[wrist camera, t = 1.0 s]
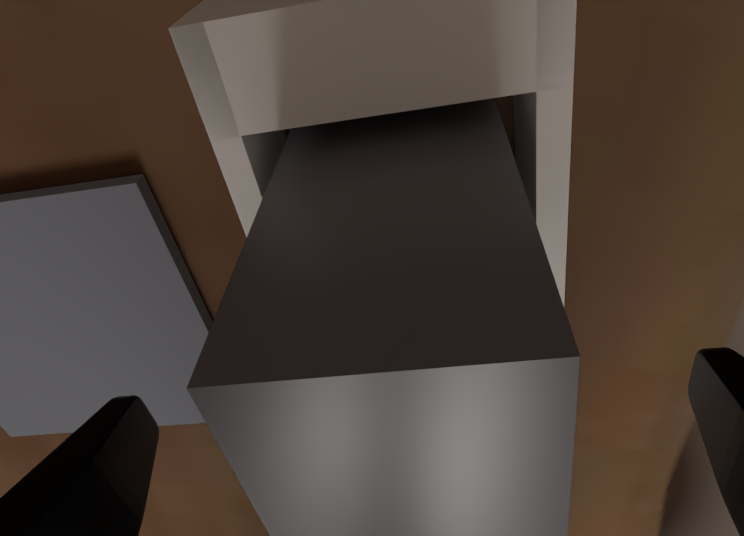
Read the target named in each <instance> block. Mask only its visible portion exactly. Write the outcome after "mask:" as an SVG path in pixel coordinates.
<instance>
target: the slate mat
mask: <svg viewBox="0 0 744 536" xmlns="http://www.w3.org/2000/svg"><path fill="white" fill-rule="evenodd" d="M212 323H213V321H212V319H211V317H210V315H209V313H208V311H207V309H206V306H205V304H204V302H203V300H202V298H201V296H200V294H199V292H198V290H197V287H196V285H195V283H194V281H193V279H192V277H191V275H190V273H189V270H188V268H187V266H186V264H185V262H184V260H183V258H182V256H181V253H180V251H179V249H178V247H177V245H176V243H175V241H174V239H173V237H172V234H171V232H170V230H169V228H168V226H167V224H166V222H165V220H164V217H163V215H162V213H161V211H160V209H159V207H158V205H157V203H156V200H155V198H154V196H153V194H152V192H151V190H150V188H149V186H148V183H147V181H146V179H145V177H144V175H143V174H140V175H133V176H126V177H119V178H112V179H105V180H98V181H91V182H84V183H77V184H70V185H63V186H56V187H49V188H42V189H35V190H28V191H21V192H14V193H7V194H0V426H1V427H2V428H3V429H4V430H5V431H6V432H7V434H8V435H9V436H10V437H14V436H28V435H42V434H56V433H70V432H75V431H76V430H77V429H78V428H79V427H80V426H81V425H82V424H84V423H85V422H86V421H87V420H88V419H89V418H90V417H91V416H93V415H94V414H95V413H96V412H97V411H98V410H99V409H100V408H101V407H103V406H104V405H105V404H106V403H107V402H108V401H109V400H111V399H112V398H114V397H118V396H130V395H136V396H138V397H140V398H141V399H142V401H143V402H144V404H145V405H146V407H147V408H148V410H149V411H150V413H151V415H152V416H153V418H154V419H155V421H156V422H157V425H158V426H167V425H181V424H195V423H206V422H205V420H204V419H203V417H202V415H201V413H200V412H199V410H198V408H197V406H196V405H195V403H194V401H193V399H192V397H191V396H190V394H189V392H188V390H187V389H186V388H187V386H188V383H189V381H190V378H191V376H192V373H193V371H194V368H195V366H196V363H197V361H198V358H199V356H200V353H201V351H202V348H203V346H204V343H205V341H206V338H207V336H208V333H209V331H210V328H211V326H212Z"/></svg>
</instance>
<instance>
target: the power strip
mask: <svg viewBox="0 0 744 536" xmlns="http://www.w3.org/2000/svg"><path fill="white" fill-rule="evenodd" d="M576 8H577V0H203V1H202V2H201V3H199V4H198V5H197V6H196V7H194V8H193V9H192V10H191V11H189V12H188V13H187V14H186V15H184V16H183V17H182V18H181V19H179V20H178V21H177V22H176V23H174V24H173V25H172V26H171V27H169V28H168V30H169V32H170V35H171V38H172V40H173V43H174V46H175V48H176V51H177V54H178V56H179V59H180V62H181V64H182V67H183V70H184V72H185V75H186V78H187V80H188V83H189V86H190V88H191V91H192V94H193V96H194V99H195V102H196V104H197V107H198V110H199V112H200V115H201V118H202V120H203V123H204V126H205V128H206V131H207V134H208V136H209V139H210V142H211V144H212V147H213V150H214V152H215V155H216V158H217V160H218V163H219V165H220V168H221V171H222V173H223V176H224V179H225V181H226V184H227V187H228V189H229V192H230V195H231V197H232V200H233V203H234V205H235V208H236V211H237V213H238V216H239V219H240V221H241V224H242V227H243V229H244V232H245V235H246V237H247V236H248V234H249V231H250V229H251V226H252V224H253V221H254V219H255V216H256V214H257V211H258V209H259V206H260V204H261V201H262V199H263V196H264V194H265V191H266V189H267V186H268V184H269V181H270V179H271V176H272V174H273V171H274V169H275V166H276V164H277V161H278V159H279V156H280V154H281V151H282V149H283V146H284V144H285V141H286V136H285V132H284V129H291V128H297V127H304V126H311V125H317V124H324V123H331V122H337V121H344V120H351V119H357V118H364V117H371V116H377V115H384V114H391V113H397V112H404V111H411V110H418V109H424V108H431V107H438V106H444V105H451V104H458V103H464V102H471V101H478V100H484V99H491V98H498V97H504V96H511V95H513V98H514V140H515V161H516V164H517V167H518V170H519V173H520V176H521V179H522V182H523V186H524V189H525V192H526V195H527V198H528V201H529V204H530V207H531V210H532V213H533V216H534V219H535V222H536V225H537V228H538V231H539V234H540V237H541V240H542V243H543V246H544V249H545V252H546V255H547V258H548V261H549V264H550V267H551V270H552V273H553V276H554V279H555V282H556V285H557V288H558V291H559V294H560V297H561V300H562V303H563V306H564V298H565V274H566V250H567V226H568V202H569V177H570V153H571V129H572V105H573V80H574V56H575V32H576Z"/></svg>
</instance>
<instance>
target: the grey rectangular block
mask: <svg viewBox="0 0 744 536" xmlns="http://www.w3.org/2000/svg"><path fill="white" fill-rule="evenodd" d="M579 367H580V354H579V351H578V348H577V345H576V342H575V339H574V336H573V333H572V330H571V327H570V324H569V321H568V318H567V315H566V312H565V309H564V306H563V303H562V300H561V297H560V294H559V291H558V288H557V285H556V282H555V279H554V276H553V273H552V270H551V267H550V264H549V261H548V258H547V255H546V252H545V249H544V246H543V243H542V240H541V237H540V234H539V231H538V228H537V225H536V222H535V219H534V216H533V213H532V210H531V207H530V204H529V201H528V198H527V195H526V192H525V189H524V186H523V182H522V179H521V176H520V173H519V170H518V167H517V164H516V161H515V158H514V155H513V152H512V149H511V146H510V143H509V140H508V137H507V134H506V131H505V128H504V125H503V122H502V119H501V116H500V113H499V110H498V107H497V104H496V101H495V98H491V99H484V100H478V101H471V102H464V103H458V104H451V105H444V106H438V107H431V108H424V109H418V110H411V111H404V112H397V113H391V114H384V115H377V116H371V117H364V118H357V119H351V120H344V121H337V122H331V123H324V124H317V125H311V126H304V127H297V128H291V129H290V131H289V134H288V136H287V139H286V141H285V144H284V146H283V149H282V151H281V154H280V156H279V159H278V161H277V164H276V166H275V169H274V171H273V174H272V176H271V179H270V181H269V184H268V186H267V189H266V191H265V194H264V196H263V199H262V201H261V204H260V206H259V209H258V211H257V214H256V216H255V219H254V221H253V224H252V226H251V229H250V231H249V234H248V236H247V239H246V241H245V244H244V246H243V248H242V251H241V253H240V256H239V258H238V261H237V263H236V266H235V268H234V271H233V273H232V276H231V278H230V281H229V283H228V286H227V288H226V291H225V293H224V296H223V298H222V301H221V303H220V306H219V308H218V311H217V313H216V316H215V318H214V321H213V323H212V326H211V328H210V331H209V333H208V336H207V338H206V341H205V343H204V346H203V348H202V351H201V353H200V356H199V358H198V361H197V363H196V366H195V368H194V371H193V373H192V376H191V378H190V381H189V383H188V386H187V388H186V389H187V390H188V392H189V394H190V396H191V397H192V399H193V401H194V403H195V405H196V406H197V408H198V410H199V412H200V413H201V415H202V417H203V419H204V420H205V422H206V424H207V426H208V427H209V429H210V431H211V433H212V435H213V436H214V438H215V440H216V442H217V443H218V445H219V447H220V449H221V450H222V452H223V454H224V456H225V458H226V459H227V461H228V463H229V465H230V466H231V468H232V470H233V472H234V473H235V475H236V477H237V479H238V481H239V482H240V484H241V486H242V488H243V489H244V491H245V493H246V495H247V496H248V498H249V500H250V502H251V503H252V505H253V507H254V509H255V511H256V512H257V514H258V516H259V518H260V519H261V521H262V523H263V525H264V526H265V528H266V530H267V532H268V534H269V535H270V536H568V525H569V511H570V496H571V482H572V467H573V453H574V439H575V424H576V410H577V395H578V381H579Z"/></svg>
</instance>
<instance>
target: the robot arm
mask: <svg viewBox="0 0 744 536" xmlns="http://www.w3.org/2000/svg"><path fill="white" fill-rule="evenodd" d="M688 394H689V399H690V403H691V406H692V409H693V412H694V415H695V418H696V421H697V424H698V427H699V430H700V432H701V435H702V439H703V442H704V445H705V448H706V451H707V454H708V457H709V460H710V463H711V466H712V469H713V472H714V475H715V478H716V481H717V484H718V486H719V489H720V492H721V495H722V497H723V499H724V502H725V504H726V506H727V508H728V511H729V513H730V515H731V518H732V520H733V522H734V524H735V526H736V528H737V531H738V532H739V535H740V536H744V357H743V356H742V355H740V354H738V353H737V352H735V351H734V350H732V349H730V348H726V347H722V348H709V349H702V350H699V351H698V352H697V354H696V356H695V360H694V364H693V368H692V372H691V376H690V380H689V385H688ZM158 439H159V428H158V425H157V422H156V421H155V419H154V418H153V416H152V415H151V413H150V411H149V410H148V408H147V407H146V405H145V404H144V402H143V401H142V399H141V398H140V397H138V396H136V395H130V396H118V397H114V398H112V399H111V400H109V401H108V402H107V403H106V404H105V405H104V406H103V407H101V408H100V409H99V410H98V411H97V412H96V413H95V414H94V415H93V416H91V417H90V418H89V419H88V420H87V421H86V422H85V423H84V424H82V425H81V426H80V427H79V428H78V429H77V430H76V431H75V432H74V433H72V434H71V435H70V436H69V437H68V438H67V439H66V440H65V441H64V442H62V443H61V444H60V445H59V446H58V447H57V448H56V449H55V450H53V451H52V452H51V453H50V454H49V455H48V456H47V457H46V458H45V459H43V460H42V461H41V462H40V463H39V464H38V465H37V466H36V467H35V468H33V469H32V470H31V471H30V472H29V473H28V474H27V475H26V476H24V477H23V478H22V479H21V480H20V481H19V482H18V483H17V484H16V485H14V486H13V487H12V488H11V489H10V490H9V491H8V492H7V493H6V494H4V495H3V496H2V497H1V498H0V536H138V535H139V531H140V527H141V524H142V520H143V515H144V511H145V506H146V501H147V496H148V491H149V486H150V480H151V475H152V470H153V465H154V460H155V455H156V450H157V444H158Z"/></svg>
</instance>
